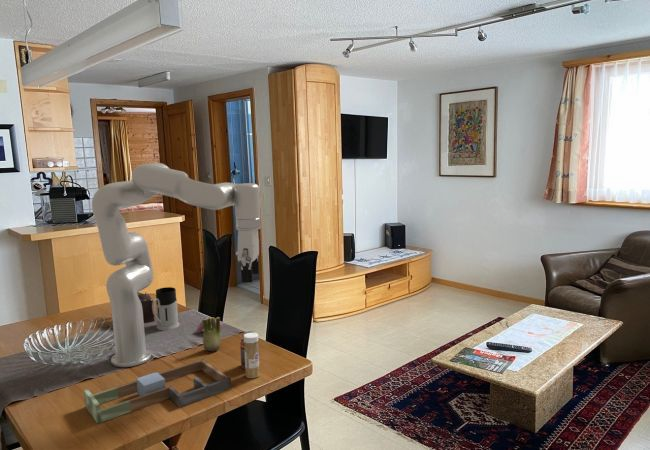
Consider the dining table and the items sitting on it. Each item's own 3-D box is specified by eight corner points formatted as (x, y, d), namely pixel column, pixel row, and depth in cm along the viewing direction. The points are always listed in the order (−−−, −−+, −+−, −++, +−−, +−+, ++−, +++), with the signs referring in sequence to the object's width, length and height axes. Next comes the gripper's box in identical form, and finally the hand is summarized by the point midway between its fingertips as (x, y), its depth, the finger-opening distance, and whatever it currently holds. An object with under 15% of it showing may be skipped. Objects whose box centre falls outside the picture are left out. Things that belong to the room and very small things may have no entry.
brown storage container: (156, 321, 202) (153, 278, 199) (128, 326, 196) (124, 283, 193) (149, 310, 215) (146, 270, 212) (122, 315, 209) (119, 274, 206)
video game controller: (221, 339, 186) (226, 320, 187) (213, 337, 182) (218, 319, 183) (202, 334, 191) (207, 316, 192) (194, 332, 187) (199, 314, 189)
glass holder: (183, 322, 199) (181, 287, 197) (165, 336, 185) (162, 298, 183) (164, 321, 201) (161, 286, 198) (144, 334, 187) (141, 296, 185)
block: (137, 394, 142) (136, 378, 141) (157, 387, 146) (156, 371, 145) (145, 402, 138) (144, 385, 137) (166, 395, 141) (164, 379, 141)
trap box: (85, 407, 135) (84, 390, 134) (203, 367, 158) (202, 353, 157) (106, 435, 122) (104, 416, 121) (231, 388, 145) (230, 372, 144)
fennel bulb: (222, 347, 174) (221, 315, 172) (218, 353, 169) (216, 320, 167) (206, 347, 174) (205, 315, 172) (202, 353, 170) (200, 320, 168)
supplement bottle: (256, 371, 155) (254, 337, 153) (238, 369, 156) (236, 336, 155) (262, 363, 161) (260, 330, 159) (245, 361, 162) (243, 329, 160)
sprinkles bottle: (256, 379, 149) (254, 338, 147) (242, 378, 151) (240, 336, 149) (262, 373, 154) (260, 332, 152) (249, 371, 155) (247, 331, 153)
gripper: (242, 219, 158) (245, 270, 161) (229, 228, 141) (231, 285, 144) (265, 219, 158) (267, 270, 161) (254, 228, 141) (256, 285, 144)
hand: (250, 277), depth 152 cm, fingers open, 9 cm apart
